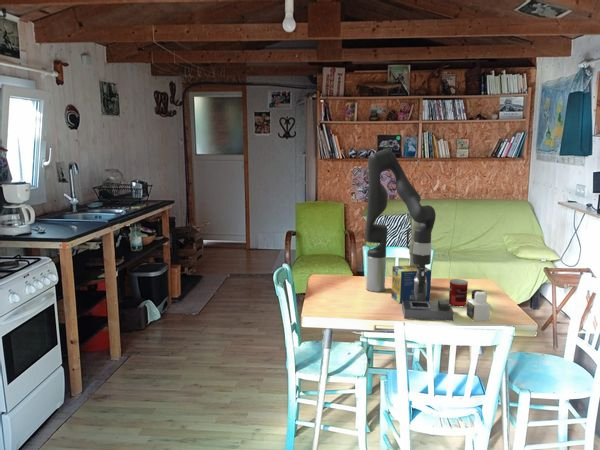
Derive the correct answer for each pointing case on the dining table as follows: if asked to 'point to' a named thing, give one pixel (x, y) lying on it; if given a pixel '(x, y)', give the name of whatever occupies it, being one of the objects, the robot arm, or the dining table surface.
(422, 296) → the grey rounded cylinder
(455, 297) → the canned food
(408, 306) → the grey panel
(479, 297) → the medicine bottle
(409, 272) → the protein box
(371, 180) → the robot arm
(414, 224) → the thermos
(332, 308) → the dining table surface
